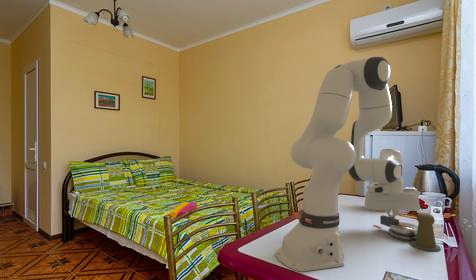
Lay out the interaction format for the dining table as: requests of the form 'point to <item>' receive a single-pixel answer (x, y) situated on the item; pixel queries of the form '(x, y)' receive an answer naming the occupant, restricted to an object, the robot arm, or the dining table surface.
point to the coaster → (413, 243)
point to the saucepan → (399, 226)
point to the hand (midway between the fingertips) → (391, 220)
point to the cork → (425, 231)
